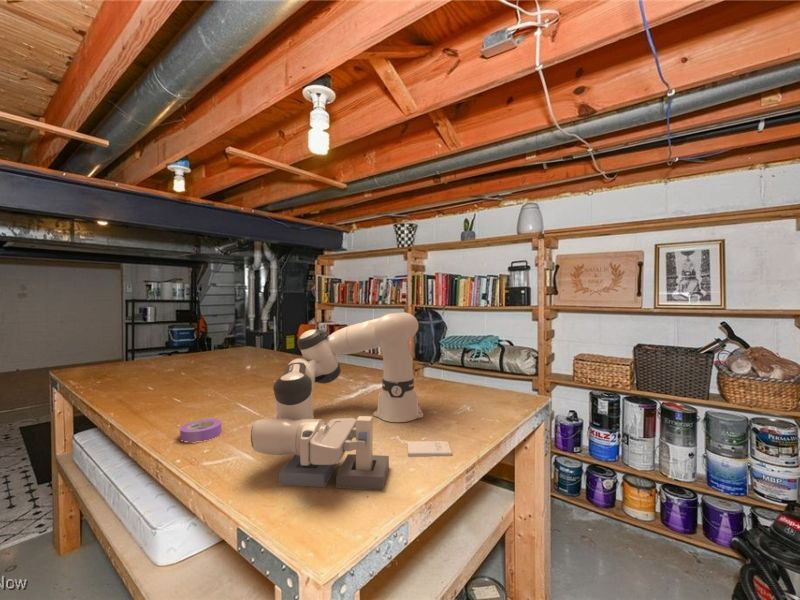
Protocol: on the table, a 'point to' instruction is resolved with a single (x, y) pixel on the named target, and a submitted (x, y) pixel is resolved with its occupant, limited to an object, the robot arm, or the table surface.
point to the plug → (366, 432)
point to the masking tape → (200, 430)
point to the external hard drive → (428, 448)
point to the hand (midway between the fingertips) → (367, 439)
